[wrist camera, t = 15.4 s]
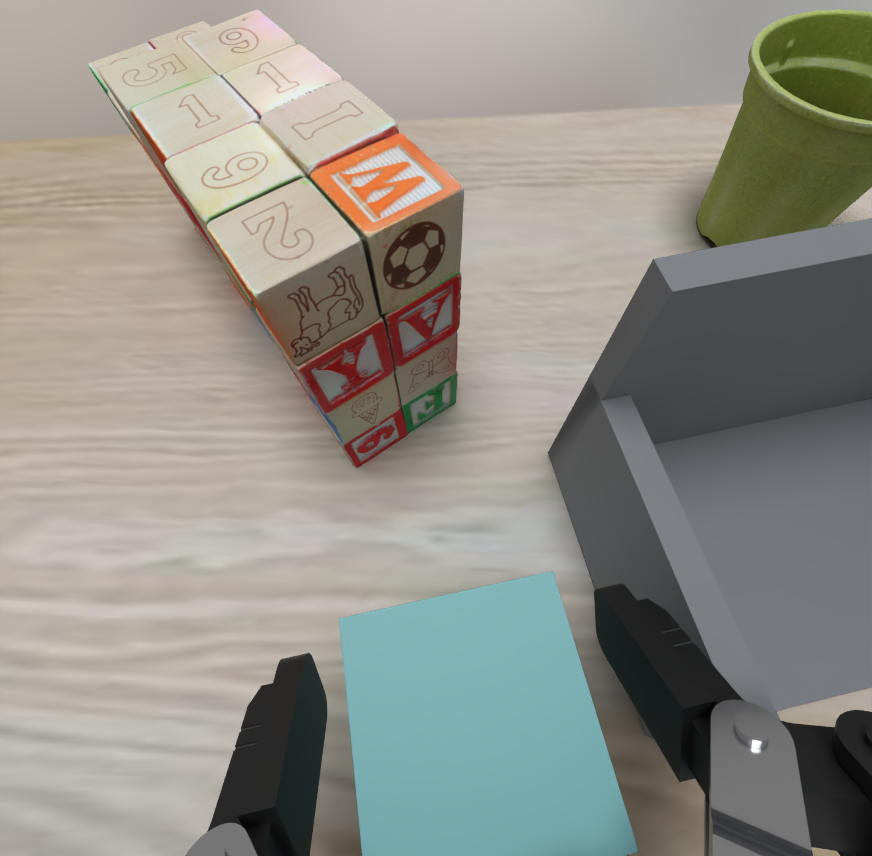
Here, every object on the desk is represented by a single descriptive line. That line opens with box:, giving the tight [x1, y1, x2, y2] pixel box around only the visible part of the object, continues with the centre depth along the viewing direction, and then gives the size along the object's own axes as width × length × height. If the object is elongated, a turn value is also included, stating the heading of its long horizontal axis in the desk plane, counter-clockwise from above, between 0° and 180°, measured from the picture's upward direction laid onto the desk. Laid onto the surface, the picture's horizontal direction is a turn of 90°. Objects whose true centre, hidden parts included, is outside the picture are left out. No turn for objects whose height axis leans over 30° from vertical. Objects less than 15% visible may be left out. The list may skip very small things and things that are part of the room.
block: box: [339, 571, 639, 856], centre depth 13 cm, size 5×5×9 cm
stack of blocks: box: [88, 10, 464, 468], centre depth 20 cm, size 21×6×12 cm, turn 36°
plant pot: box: [697, 10, 872, 247], centre depth 23 cm, size 9×9×9 cm
